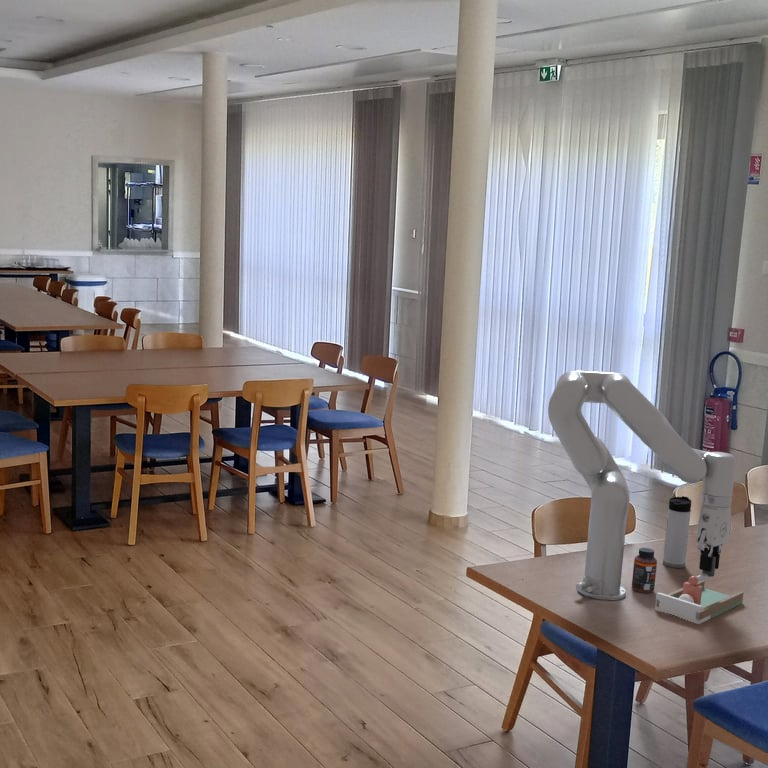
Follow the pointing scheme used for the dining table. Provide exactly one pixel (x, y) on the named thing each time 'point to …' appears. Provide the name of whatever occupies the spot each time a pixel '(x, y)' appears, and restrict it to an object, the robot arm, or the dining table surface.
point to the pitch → (708, 608)
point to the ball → (687, 598)
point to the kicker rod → (691, 585)
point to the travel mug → (677, 532)
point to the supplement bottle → (644, 571)
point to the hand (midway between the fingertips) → (708, 568)
